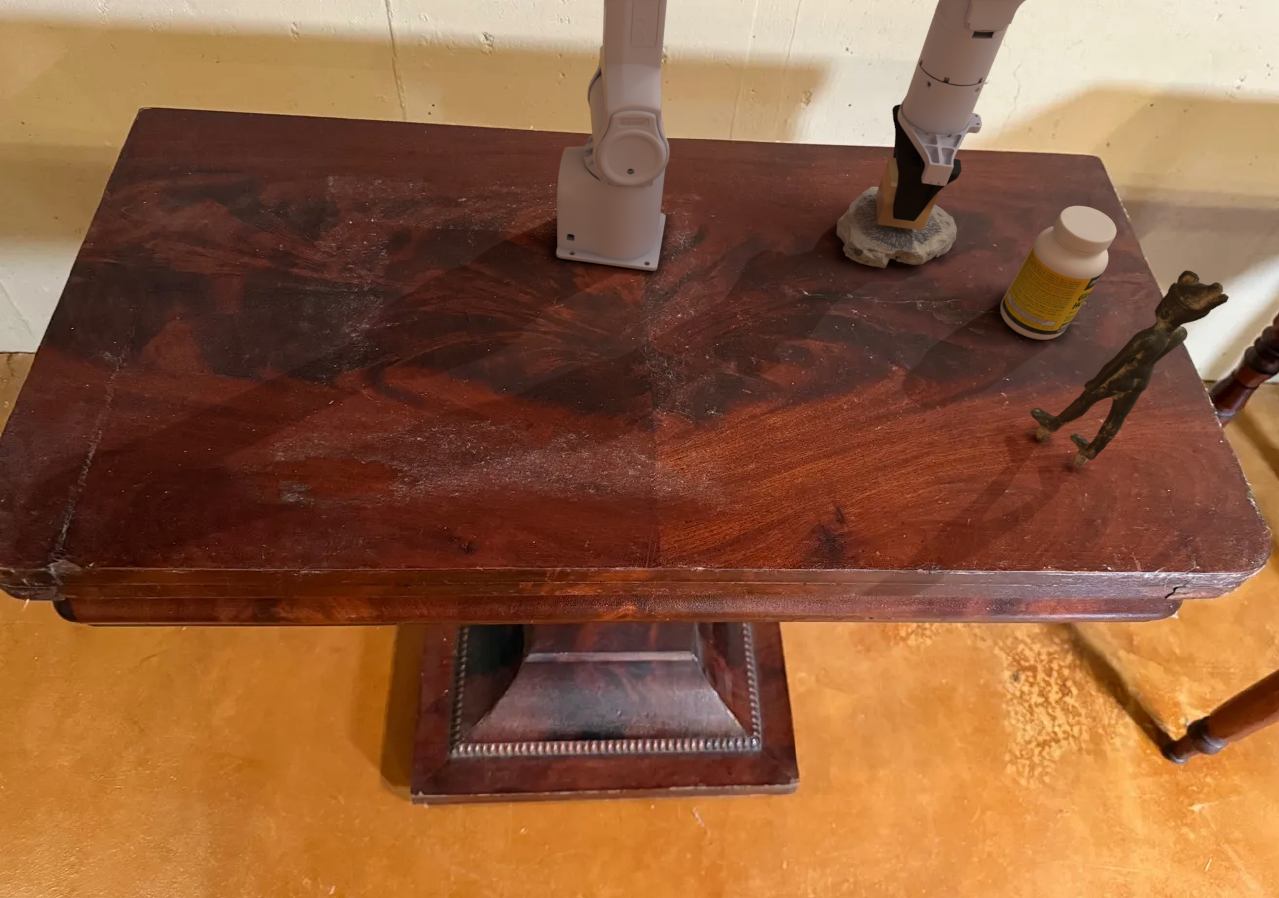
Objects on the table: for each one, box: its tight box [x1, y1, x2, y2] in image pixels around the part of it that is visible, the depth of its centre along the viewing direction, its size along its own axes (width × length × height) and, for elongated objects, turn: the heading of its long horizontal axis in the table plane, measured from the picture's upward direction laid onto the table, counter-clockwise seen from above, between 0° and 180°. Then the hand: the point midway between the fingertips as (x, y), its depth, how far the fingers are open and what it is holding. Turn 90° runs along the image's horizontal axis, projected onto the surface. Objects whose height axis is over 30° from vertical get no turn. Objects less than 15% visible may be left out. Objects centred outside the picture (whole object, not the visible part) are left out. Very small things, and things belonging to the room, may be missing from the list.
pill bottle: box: [999, 205, 1117, 341], centre depth 78 cm, size 6×6×11 cm
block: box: [876, 156, 940, 231], centre depth 83 cm, size 4×4×4 cm
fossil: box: [836, 185, 958, 269], centre depth 86 cm, size 11×4×10 cm
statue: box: [1030, 270, 1230, 468], centre depth 65 cm, size 5×6×20 cm
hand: (902, 201), depth 84 cm, fingers closed on block, 4 cm apart
